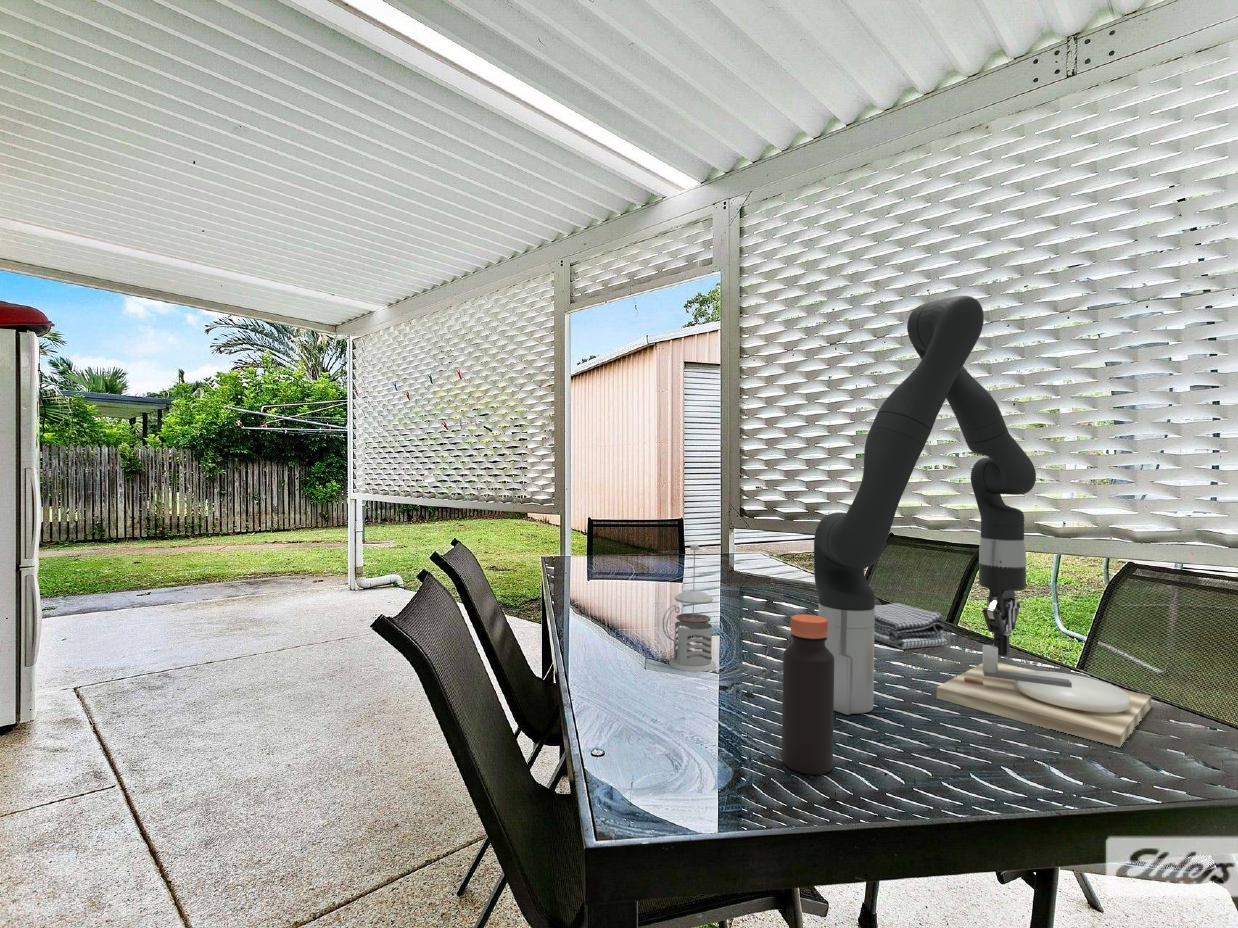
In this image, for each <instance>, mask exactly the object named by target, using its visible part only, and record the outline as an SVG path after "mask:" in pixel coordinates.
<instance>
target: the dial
mask: <svg viewBox="0 0 1238 928" xmlns="http://www.w3.org/2000/svg"><path fill="white" fill-rule="evenodd" d="M998 659H999V655H998V647H996V646H994V644H983V645H982V663H981V664H982V670H983V674H984V676H988V677H995V678H1003V679H1010V680H1015V687H1016V688H1017V689H1018V690H1019V691H1020V692H1022V693H1024V694H1026V695H1028V696H1030V697H1032V698H1035V699H1037V700H1040V701H1043V702H1047V703H1050V704H1054V705H1058V706H1062V707H1066V708H1071V709H1077V710H1083V711H1091V712H1106V713H1112V712H1122V711H1126V710H1128V709H1129V708H1130V696H1129V694H1128V693H1126V692H1125V691H1123V690H1124V689H1122V688H1120V687H1118V686H1115V685H1113V684H1110V683H1107V682H1104V681H1101V680H1097V679H1094V678H1090V677H1086V676H1082V675H1081V676H1080V675H1077V674H1076V675H1075V674H1072V673H1071V674H1070V673H1064V672H1059V671H1058V672H1057V671H1049V670H1048V671H1047V670H1046V671H1045V670H1035V671H1026V672H1021V673H1014V672H1006V671H999V670H998V663H999V660H998Z"/></svg>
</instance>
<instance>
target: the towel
mask: <svg viewBox="0 0 1238 928" xmlns="http://www.w3.org/2000/svg"><path fill="white" fill-rule="evenodd" d="M942 619H943V615H942V613H940V612H939V611H938V612H937V611H931V610H927V609H922V608H919V607H916V606H912V605H908V604H904V603H900V602H892V603H888V604H883V605H880V604H875V625H874V641H878V642H881V643H883V644H887V645H889V646H892V647H895V648H897V649H899V650H909V649H915V648H916V649H917V648H919V649H920V648H926V647H927V648H928V647H939V646H947V644H948V641H947V639H946V638H945V637H943V634H944V633H943V632H942V631H943V630H945V628H946V627H945V626H944V624H942V623H940V622H938V621H939V620H942Z"/></svg>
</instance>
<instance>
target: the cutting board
mask: <svg viewBox="0 0 1238 928" xmlns="http://www.w3.org/2000/svg"><path fill="white" fill-rule="evenodd" d="M998 670H999V671H1006V672H1014V673H1021V672H1026V671H1036V670H1033V669H1031V668H1030V669H1029V668H1025V667H1020V666H1016V665H1012V664H1007V663H1002V662H998ZM1122 690H1123V691H1125V692H1126V693H1128V694H1129V696H1130V708H1129V709H1128V710H1126V711H1122V712H1112V713H1106V712H1091V711H1083V710H1077V709H1071V708H1066V707H1062V706H1058V705H1054V704H1050V703H1047V702H1043V701H1040V700H1037V699H1035V698H1032V697H1030V696H1028V695H1026V694H1024V693H1022V692H1020V691H1019V690H1018V689H1017V688H1016V687H1015V680H1010V679H1003V678H995V677H988V676H984V674H983V670H982V663H980V664H978V665H976V666H974V667H972V668H971V669H968V670H966V671H965V672H963V673H961V674H959V675H957V676H954V677H953V678H951V679H950V680H948V681H946V682H944V683H941V684H940V685H939V686H938V685H937V687H936V699H938V700H940V701H941V700H942V701H945V702H949V703H951V704H952V703H953V704H955V705H956V704H957V705H960V706H963V707H966V708H969V709H970V708H971V709H974V710H978V711H981V712H985V713H988V714H991V715H997V716H999V717H1003V718H1007V719H1010V720H1013V721H1018V722H1022V723H1025V724H1028V725H1031V724H1032V726H1035V727H1039V726H1040V727H1039V728H1042V727H1043V728H1042V729H1046V730H1050V729H1053V730H1056V731H1055V732H1057V731H1059V732H1058V733H1060V732H1064V733H1067V734H1066V735H1068V734H1072V735H1075V736H1079V737H1084V738H1087V739H1091V740H1095V741H1099V742H1104V743H1106V744H1109V745H1114V746H1117V747H1121V745H1122V744H1123V742H1125V743H1126V741H1127V740H1128V739H1127V737H1128V738H1130V736H1131V735H1132V733H1134V731H1135V730H1136V728H1137V727H1138V726H1139V724H1140V723H1141V722H1140V721H1142V720H1143V719H1144V718H1145V716H1146V715H1147V714H1148V712H1149V711H1150V710H1151V708H1152V696H1151V695H1150V694H1149V695H1148V694H1143V693H1139V692H1135V691H1129V690H1125V689H1122ZM1142 718H1143V719H1142ZM1139 722H1140V723H1139ZM1137 725H1138V726H1137ZM1136 726H1137V727H1136ZM1135 727H1136V728H1135ZM1053 730H1052V731H1053ZM1133 730H1134V731H1133ZM1064 733H1063V734H1064ZM1130 734H1131V735H1130ZM1129 735H1130V736H1129ZM1075 736H1074V737H1075ZM1126 739H1127V740H1126ZM1125 740H1126V741H1125ZM1123 745H1124V744H1123ZM1123 745H1122V746H1123ZM1121 748H1122V747H1121Z"/></svg>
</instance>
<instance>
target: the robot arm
mask: <svg viewBox="0 0 1238 928" xmlns="http://www.w3.org/2000/svg"><path fill="white" fill-rule="evenodd" d="M984 320H985V317H984V310H983V306H982V305H981V302H979V300H977V299H976V298H974V297H973V296H969V295H955V296H951V297H950V296H949V297H946V298H943V299H939V300H938V299H937V300H933V301H929V302H925V303H923V304H920V305H918V306H917V307H915V308H914V309H913V310H912V312H911V313H910V315H909V317H908V320H907V325H906V329H907V335H908V338H909V341H910V343H911V344H912V346H913V348H914V350H915V351H916V354H917V355H918V356H919V358H920V359H921V360H920V361H919V363H918V365H917V366H916V367H915V369H914V370H913V371H912V372H911V373H910V374H908V376H907V377H906V378H905V379H904V380H902V382H901V383H900V384H898V386H897V387H896V388H895V389H894V390H892V392H891V393H890V394H889V395H888V396H887V398H886V399H885V400H884V402H883V403H882V404H881V405H880V408H879V409H878V411H877V414H876V415H875V418H874V420H873V422H872V424H871V427H870V429H869V430H868V433H867V436H866V439H865V442H864V451H863V474H862V477H861V482H860V486H859V488H858V491H857V493H856V494H855V496H854V499H853V500H852V503H851V505H850V506H849V508H848V510H847V512H839V511H838V512H833V513H829V514H827V515H825V516H824V517H823V518H821V520H820V521H819V522H818V524H817V526H816V528H815V532H814V538H813V569H814V572H813V573H814V582H815V583H814V584H815V587H816V590H817V594H818V616H820V617H823V618H825V619H827V620H828V631H827V640H826V641H825V647H826V648H827V649H828V650H829V651H830V652H831V653H832V655H833V656H834V711H835V712H838V713H840V714H844V715H846V716H847V715H852V714H866V713H869V712H872V711H873V709H874V695H875V694H874V691H875V690H874V689H875V688H874V686H875V684H874V682H875V681H874V680H875V679H874V678H875V677H874V675H875V673H874V672H875V640H874V625H875V605H876V604H875V603H876V597H875V596H876V595H875V592H874V590H873V589H872V587H871V586H870V584H869V583H868V581H867V578H866V575H865V569H867V568H869V567H871V566H872V565H874V564H875V563H876V562H877V561H878V560H879V559H880V557H881V555H882V553H883V551H884V549H885V547H886V544H887V541H888V538H889V535H890V532H891V528H892V526H893V522H894V519H895V516H896V513H897V510H898V506H899V504H900V500H901V498H902V496H903V494H904V492H905V489H906V487H907V485H908V483H909V481H910V479H911V475H913V472H914V469H915V467H916V464H917V462H918V461H919V458H920V456H921V453H922V452H923V450H924V448H925V447H926V444H927V441H928V439H929V437H930V435H931V432H932V430H933V428H934V427H933V426H934V424H935V422H936V419H937V417H938V415H939V413H940V411H941V409H942V406H943V405H944V403H945V401H946V400H947V403H948V404H949V406H950V408H951V409H952V412H953V414H954V416H955V419H956V421H957V423H958V426H959V428H960V431H961V433H962V436H963V437H964V438H963V439H964V440H965V443H966V445H967V447H968V449H969V451H971V452H972V453H974V454H976V455H980V456H984V457H982V458H980V459H977V461H976V462H975V463H974V464H973V466H972V469H971V470H970V471H971V472H970V484H971V487H972V491H973V494H974V497H975V501H976V505H977V508H978V511H979V515H980V541H979V547H978V584H979V586H981V587H982V588H987V589H988V590H989V592H988V597H987V598H986V606H987V607H983V609H982V614H983V618H984V621H985V624H986V627H987V629H988V632H989V633H991V634H992V635H993V646H996V647H998V656H1001V657H1006V656H1008V655H1010V642H1011V641H1010V639H1011V638H1010V636H1011V635H1012V633H1013V631H1014V630H1015V628H1016V623H1017V618H1018V615H1019V612H1020V607H1021V603H1020V602H1019V601H1018V600H1017V598H1016V594H1015V592H1021V591H1024V590H1025V589H1026V587H1027V586H1026V585H1027V582H1026V581H1027V580H1026V579H1027V562H1026V561H1027V550H1026V544H1025V515H1024V512H1023V511H1022V510H1020V509H1018V508H1016V507H1012V506H1010V505H1007V504H1006V503H1005V502H1004V500H1003V497H1002V495H1010V496H1011V495H1012V496H1014V495H1016V496H1018V495H1019V496H1020V495H1025V494H1027V493H1030V491H1032V490H1033V488H1034V486H1035V484H1036V482H1037V480H1036V479H1037V473H1036V469H1035V466H1034V464H1033V462H1032V460H1031V459H1030V457H1029V456H1028V455H1027V454H1026V452H1025V451H1024V450H1023V448H1022V447H1021V446H1020V445H1019V443H1018V442H1017V441H1016V440H1015V439H1014V437H1013V436H1012V435H1011V434H1010V432H1009V430H1008V427H1007V424H1006V423H1005V420H1004V417H1003V415H1002V413H1001V410H1000V407H999V405H998V403H997V402H996V400H995V398H994V397H993V396H992V395H991V394H990V393H989V391H988V390H987V389H986V388H985V387H984V386H983V385H982V384H981V383H979V381H978V380H977V379H975V378H974V377H973V375H971V373H969V372H968V370H967V369H966V368H965V366H964V365H965V363H966V362H967V360H968V358H969V356H970V355H971V352H972V351H973V349H974V348H975V346H976V344H977V342H978V340H979V339H980V336H981V334H982V331H983V326H984Z"/></svg>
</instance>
